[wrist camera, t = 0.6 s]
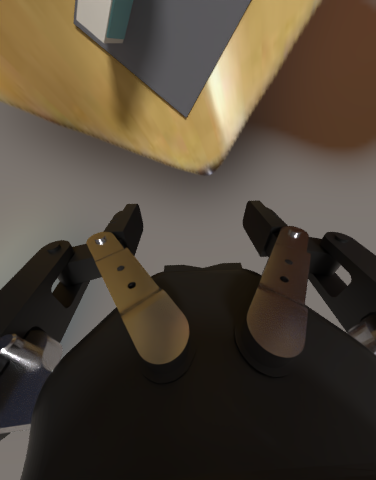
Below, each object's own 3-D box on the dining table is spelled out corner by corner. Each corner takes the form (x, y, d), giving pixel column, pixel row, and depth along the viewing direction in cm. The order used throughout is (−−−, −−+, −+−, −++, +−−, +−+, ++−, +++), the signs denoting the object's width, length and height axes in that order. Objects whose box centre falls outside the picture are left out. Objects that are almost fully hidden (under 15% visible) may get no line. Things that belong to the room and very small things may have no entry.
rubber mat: (74, 23, 21) (73, 23, 20) (102, -300, 11) (100, -308, 11) (186, 117, 29) (186, 117, 29) (258, -15, 20) (259, -15, 19)
